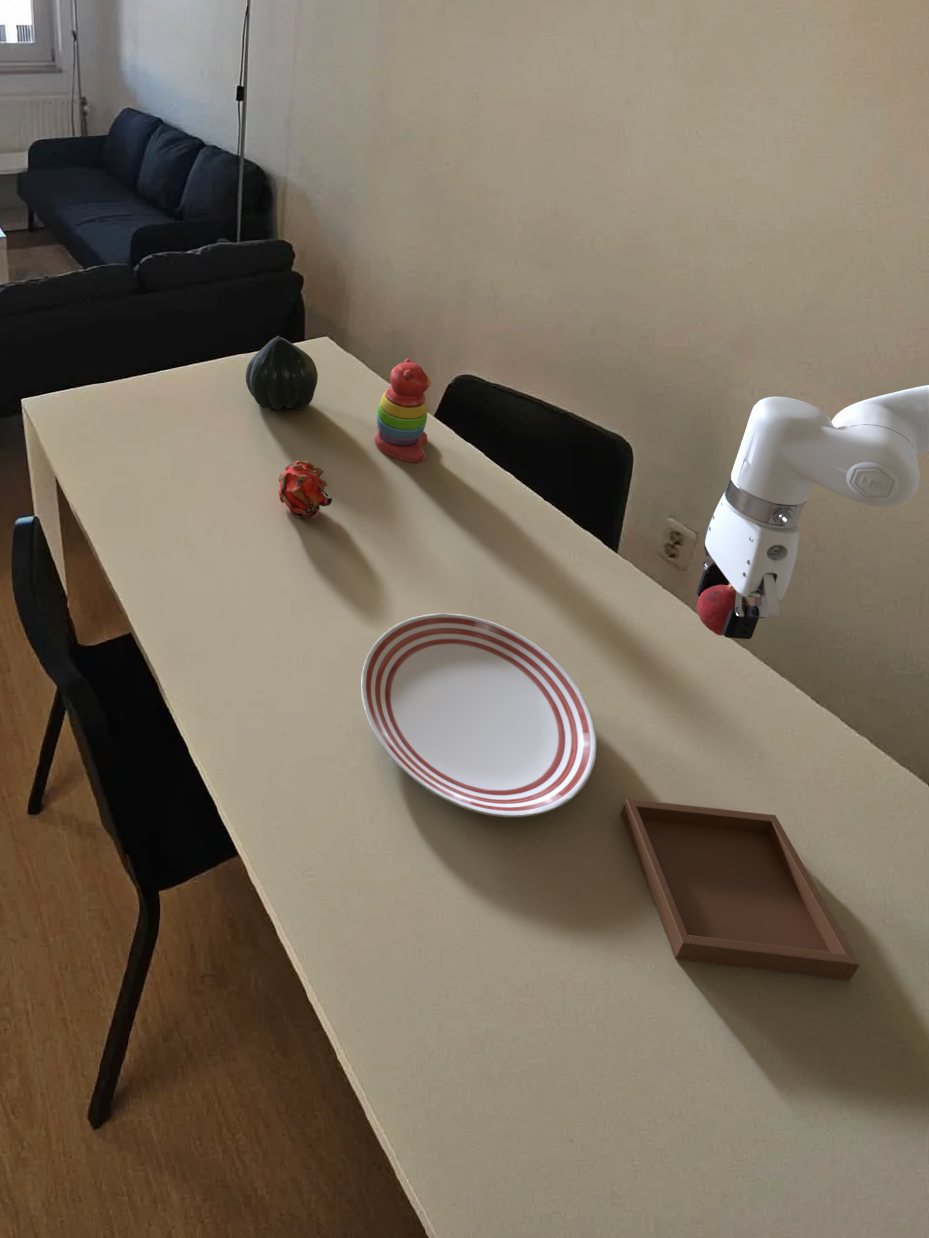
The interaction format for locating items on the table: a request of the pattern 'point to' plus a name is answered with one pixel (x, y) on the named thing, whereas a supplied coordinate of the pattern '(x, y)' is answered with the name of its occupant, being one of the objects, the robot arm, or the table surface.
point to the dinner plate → (478, 715)
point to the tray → (734, 891)
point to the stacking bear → (403, 414)
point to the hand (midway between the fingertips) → (722, 615)
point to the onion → (716, 606)
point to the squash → (281, 376)
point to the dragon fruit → (303, 489)
